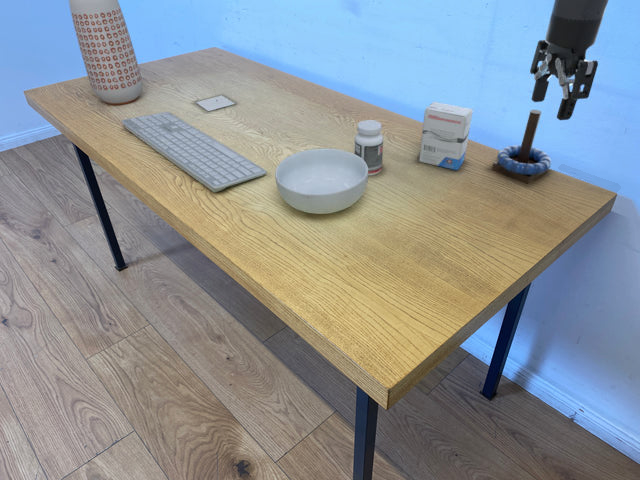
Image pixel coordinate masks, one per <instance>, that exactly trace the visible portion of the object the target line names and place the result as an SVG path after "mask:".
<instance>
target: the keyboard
mask: <svg viewBox="0 0 640 480" xmlns="http://www.w3.org/2000/svg"><path fill="white" fill-rule="evenodd" d="M120 122H121V124H122V125H123V126H124V128H125V130H127V131H129V132H130V133H132V134H133V135H134V136H136V137H137V138H138V139H139V140H141V141H142V142H144V143H145V144H146V145H148V146H149V147H150V148H152V149H153V150H154V151H156V152H157V153H158V154H160V155H161V156H163V157H164V158H165V159H167V160H168V161H170V162H171V163H172V164H174V165H175V166H176V167H178V168H179V169H181V170H182V171H183V172H185V173H186V174H188V175H189V176H190V177H192V178H193V179H195V180H196V181H197V182H198V183H200V184H201V185H203V186H204V187H206V188H207V189H209V190H210V191H211V192H213V193H217V192H220V191H224V190H225V189H226V188H228V187H230V186H234V185H237V184H240V183H243V182H247V181H250V180H253V179H255V178H259V177H262V176H265V175H266V174H267V170H266V169H264V168H263V167H262V166H260V165H258V164H256V163H255V162H253V161H252V160H250V159H248V158H246V157H245V156H244V155H242V154H240V153H238V152H237V151H235V150H233V149H232V148H230V147H229V146H227V145H225V144H224V143H221V142H220V141H218V140H217V139H215V138H213V137H211V136H209V134H206V133H205V132H203V131H201V130H200V129H198V128H196V127H194V126H193V125H191V124H189V123H188V122H187V121H184V120H183V119H181V118H179V117H177V116H176V115H174V114H172V113H171V112H169V111H163V112H158V113H152V114H147V115H141V116H137V117H131V118H125V119H121V121H120Z"/></svg>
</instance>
